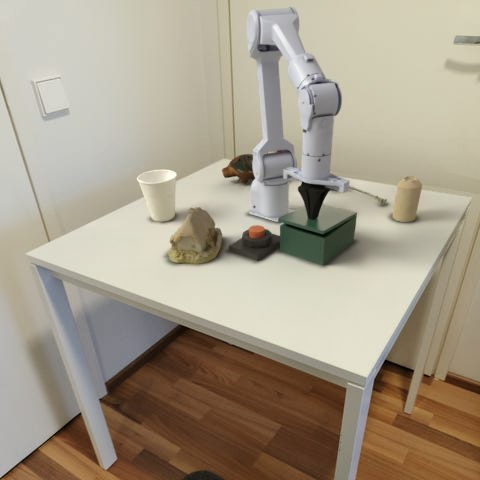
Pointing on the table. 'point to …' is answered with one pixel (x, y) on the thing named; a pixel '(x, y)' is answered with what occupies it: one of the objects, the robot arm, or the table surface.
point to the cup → (159, 193)
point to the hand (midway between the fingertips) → (312, 217)
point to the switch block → (255, 245)
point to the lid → (318, 218)
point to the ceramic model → (195, 239)
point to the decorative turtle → (240, 168)
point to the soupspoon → (370, 195)
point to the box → (316, 241)
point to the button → (256, 232)
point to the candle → (407, 199)
